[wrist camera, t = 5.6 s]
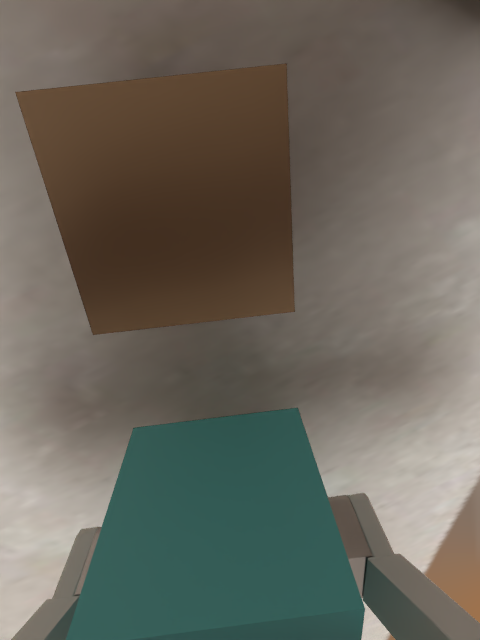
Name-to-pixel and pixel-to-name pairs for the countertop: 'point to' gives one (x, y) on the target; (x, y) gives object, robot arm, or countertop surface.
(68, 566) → the robot arm
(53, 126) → the walnut block
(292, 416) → the teal block
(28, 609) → the countertop surface
